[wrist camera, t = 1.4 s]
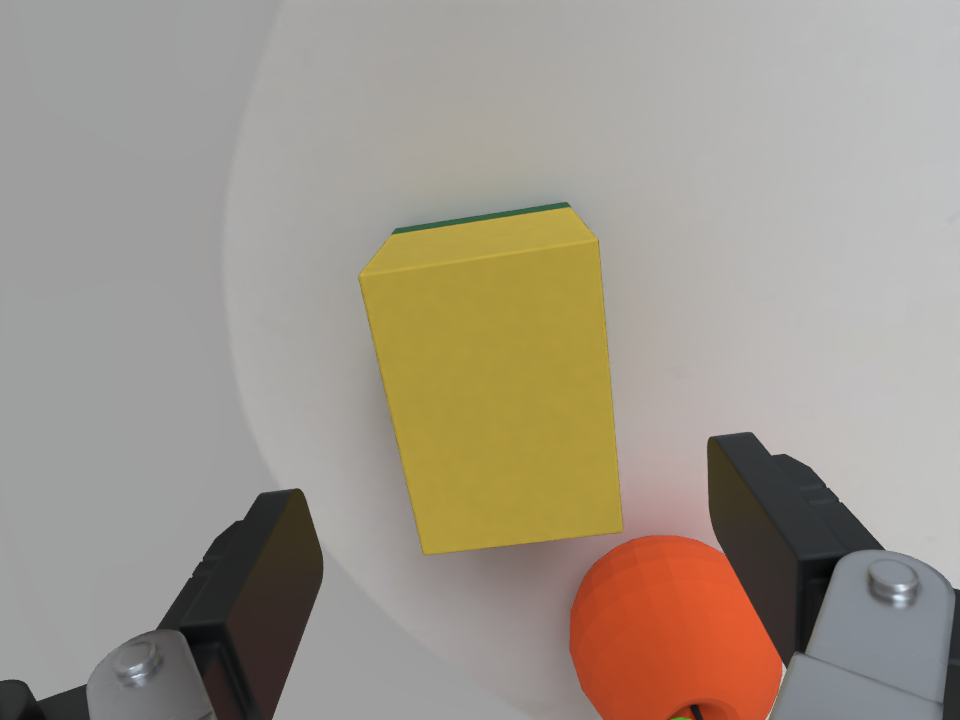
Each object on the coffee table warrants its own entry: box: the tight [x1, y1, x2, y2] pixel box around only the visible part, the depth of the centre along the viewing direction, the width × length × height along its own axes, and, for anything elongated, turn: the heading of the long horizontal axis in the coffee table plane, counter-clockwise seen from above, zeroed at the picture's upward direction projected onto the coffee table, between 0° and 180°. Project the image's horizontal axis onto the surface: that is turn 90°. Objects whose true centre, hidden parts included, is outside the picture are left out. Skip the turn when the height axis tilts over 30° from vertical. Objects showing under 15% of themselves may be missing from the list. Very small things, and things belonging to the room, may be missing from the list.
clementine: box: [570, 536, 782, 720], centre depth 21 cm, size 8×7×7 cm
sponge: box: [358, 202, 623, 555], centre depth 18 cm, size 8×6×6 cm
